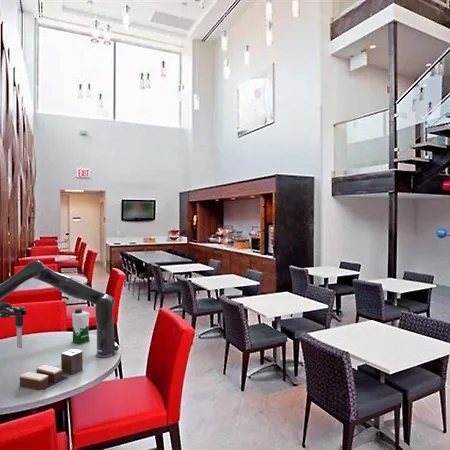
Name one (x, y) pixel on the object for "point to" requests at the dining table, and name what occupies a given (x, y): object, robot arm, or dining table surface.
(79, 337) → the milk carton
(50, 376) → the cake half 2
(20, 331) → the knife
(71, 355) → the knife block
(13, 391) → the dining table surface
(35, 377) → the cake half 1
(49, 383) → the cake board
